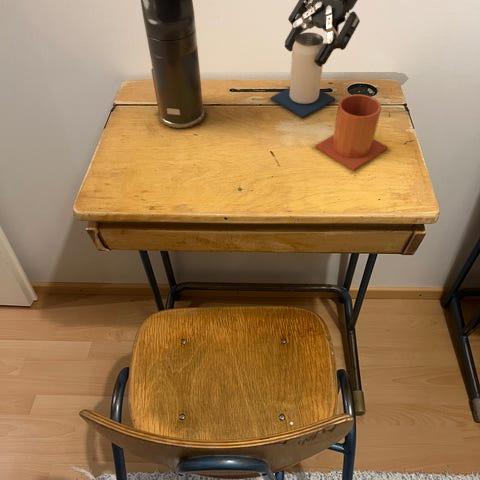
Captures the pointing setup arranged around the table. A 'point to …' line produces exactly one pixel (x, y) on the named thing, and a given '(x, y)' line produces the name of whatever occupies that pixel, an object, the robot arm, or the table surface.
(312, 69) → the can
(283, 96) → the blue mat
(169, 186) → the table surface
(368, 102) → the terracotta cup
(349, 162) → the terracotta mat
